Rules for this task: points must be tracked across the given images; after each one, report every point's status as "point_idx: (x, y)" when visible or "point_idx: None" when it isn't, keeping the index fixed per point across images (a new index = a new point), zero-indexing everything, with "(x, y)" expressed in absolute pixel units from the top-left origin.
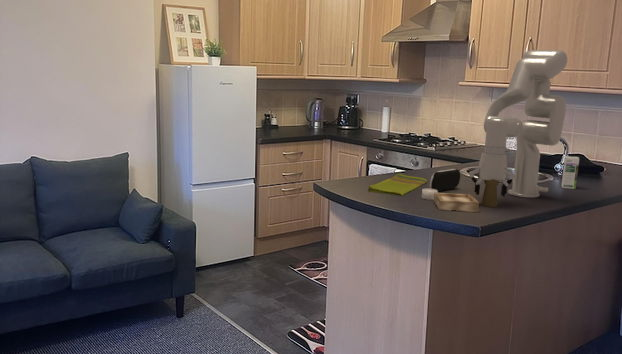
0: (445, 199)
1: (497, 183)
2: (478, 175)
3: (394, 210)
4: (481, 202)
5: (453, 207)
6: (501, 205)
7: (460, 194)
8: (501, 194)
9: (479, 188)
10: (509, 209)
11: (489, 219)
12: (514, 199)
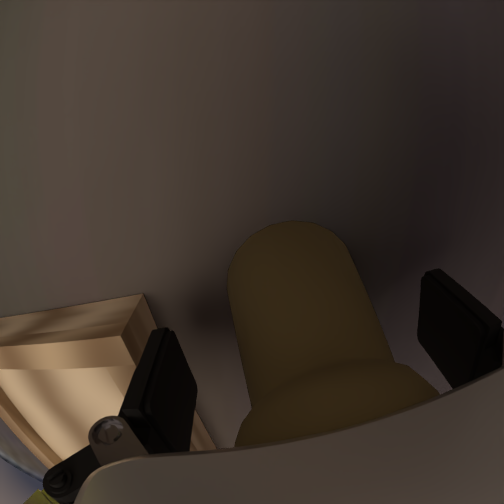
0: (40, 422)
1: None
2: (87, 481)
3: (2, 454)
4: (229, 299)
5: None
6: (388, 250)
7: (56, 361)
8: (423, 299)
9: (188, 435)
10: (407, 342)
11: None
12: (475, 5)
